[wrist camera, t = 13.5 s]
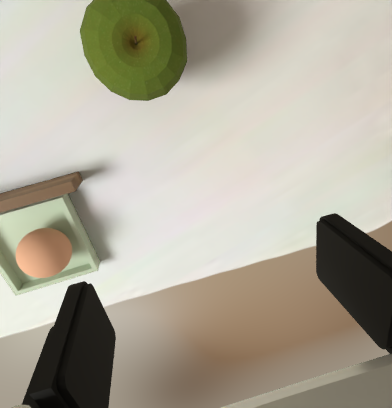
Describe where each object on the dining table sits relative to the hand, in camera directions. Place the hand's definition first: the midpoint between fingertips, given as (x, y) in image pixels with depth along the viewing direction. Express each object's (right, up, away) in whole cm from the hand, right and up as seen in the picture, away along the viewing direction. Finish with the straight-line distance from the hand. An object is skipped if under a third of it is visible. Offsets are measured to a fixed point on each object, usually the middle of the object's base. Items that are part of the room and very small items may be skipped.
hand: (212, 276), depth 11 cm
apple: (-7, +19, +19) cm, 28 cm away
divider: (-23, +4, +22) cm, 32 cm away
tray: (-21, -2, +25) cm, 33 cm away
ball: (-21, -2, +24) cm, 32 cm away
